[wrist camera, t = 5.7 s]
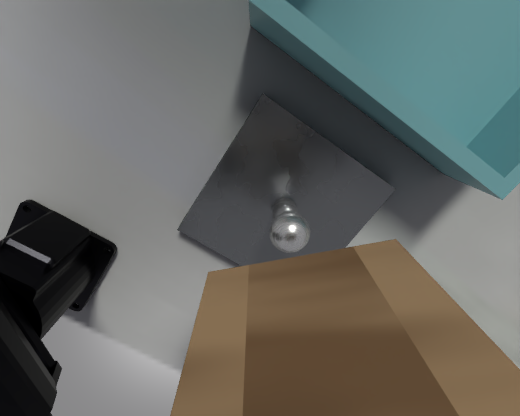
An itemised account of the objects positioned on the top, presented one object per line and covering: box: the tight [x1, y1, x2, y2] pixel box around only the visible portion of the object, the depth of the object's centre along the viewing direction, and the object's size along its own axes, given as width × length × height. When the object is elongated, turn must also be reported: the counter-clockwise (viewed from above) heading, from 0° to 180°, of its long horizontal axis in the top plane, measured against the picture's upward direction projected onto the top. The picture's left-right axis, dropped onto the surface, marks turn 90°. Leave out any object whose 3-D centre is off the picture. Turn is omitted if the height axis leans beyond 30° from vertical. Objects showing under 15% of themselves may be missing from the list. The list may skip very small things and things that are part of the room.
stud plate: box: [177, 94, 395, 266], centre depth 18 cm, size 10×10×5 cm
